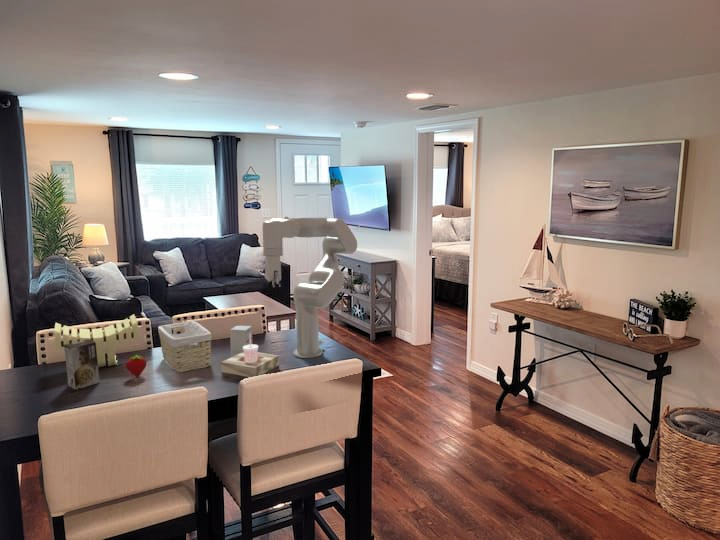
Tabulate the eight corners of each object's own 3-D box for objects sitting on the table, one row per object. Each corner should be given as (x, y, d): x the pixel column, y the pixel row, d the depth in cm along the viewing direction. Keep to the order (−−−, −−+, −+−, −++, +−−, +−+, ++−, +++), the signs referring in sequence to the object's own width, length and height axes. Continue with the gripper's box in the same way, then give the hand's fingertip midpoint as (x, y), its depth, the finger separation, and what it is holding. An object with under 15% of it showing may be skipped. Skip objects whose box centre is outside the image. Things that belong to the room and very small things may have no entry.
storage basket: (214, 367, 217) (212, 332, 215) (174, 375, 208) (171, 339, 206) (196, 352, 237) (194, 319, 234) (158, 358, 228) (156, 325, 225)
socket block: (247, 363, 222) (246, 350, 221) (279, 368, 215) (278, 355, 214) (221, 375, 207) (221, 362, 206) (255, 381, 201) (254, 368, 200)
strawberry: (125, 376, 207) (123, 351, 205) (145, 372, 211) (144, 348, 209) (128, 381, 202) (126, 356, 200) (149, 377, 206) (147, 352, 204)
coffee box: (92, 379, 204) (88, 338, 202) (100, 382, 200) (96, 341, 198) (67, 385, 197) (63, 344, 195) (75, 390, 193) (70, 347, 191)
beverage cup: (260, 365, 214) (259, 332, 212) (257, 370, 208) (256, 336, 206) (244, 365, 214) (243, 332, 212) (242, 371, 208) (240, 336, 206)
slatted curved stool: (58, 375, 208) (54, 331, 205) (59, 363, 222) (55, 322, 219) (140, 363, 222) (137, 322, 219) (136, 352, 236) (134, 313, 233)
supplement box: (246, 358, 227) (245, 330, 225) (230, 357, 228) (229, 329, 226) (253, 353, 234) (252, 325, 232) (237, 352, 236) (236, 324, 233)
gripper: (259, 249, 216) (261, 291, 218) (267, 255, 200) (268, 299, 202) (278, 249, 218) (279, 289, 221) (287, 254, 202) (288, 298, 205)
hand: (274, 294), depth 212 cm, fingers open, 9 cm apart
